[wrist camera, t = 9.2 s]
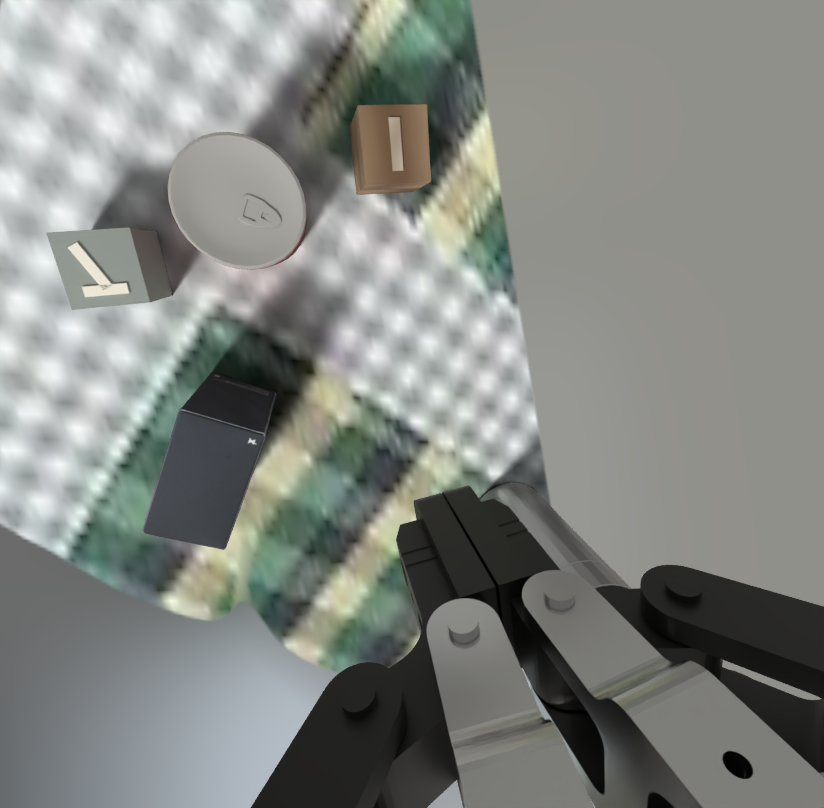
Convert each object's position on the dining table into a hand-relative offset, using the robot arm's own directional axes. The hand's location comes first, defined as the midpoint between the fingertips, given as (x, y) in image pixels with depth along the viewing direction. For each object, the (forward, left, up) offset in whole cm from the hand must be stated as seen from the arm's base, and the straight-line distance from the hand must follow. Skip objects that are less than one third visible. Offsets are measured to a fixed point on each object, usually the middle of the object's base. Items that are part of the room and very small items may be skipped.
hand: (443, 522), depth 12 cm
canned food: (+11, -4, -32) cm, 34 cm away
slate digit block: (+17, +5, -32) cm, 37 cm away
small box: (+4, +14, -32) cm, 35 cm away
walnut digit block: (+5, -14, -32) cm, 35 cm away
